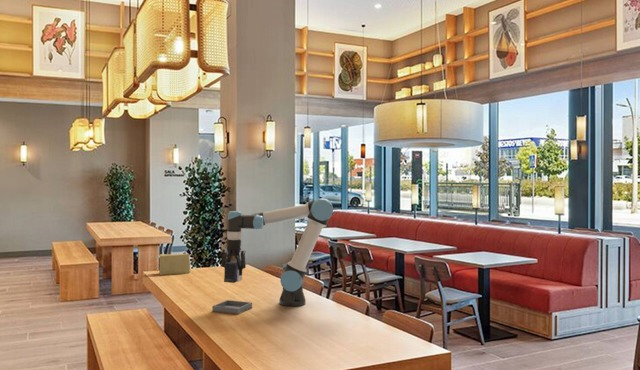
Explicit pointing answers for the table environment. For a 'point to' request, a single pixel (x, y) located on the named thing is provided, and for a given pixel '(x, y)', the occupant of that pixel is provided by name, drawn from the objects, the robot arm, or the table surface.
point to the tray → (232, 307)
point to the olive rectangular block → (174, 264)
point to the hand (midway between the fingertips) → (233, 280)
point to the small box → (231, 272)
